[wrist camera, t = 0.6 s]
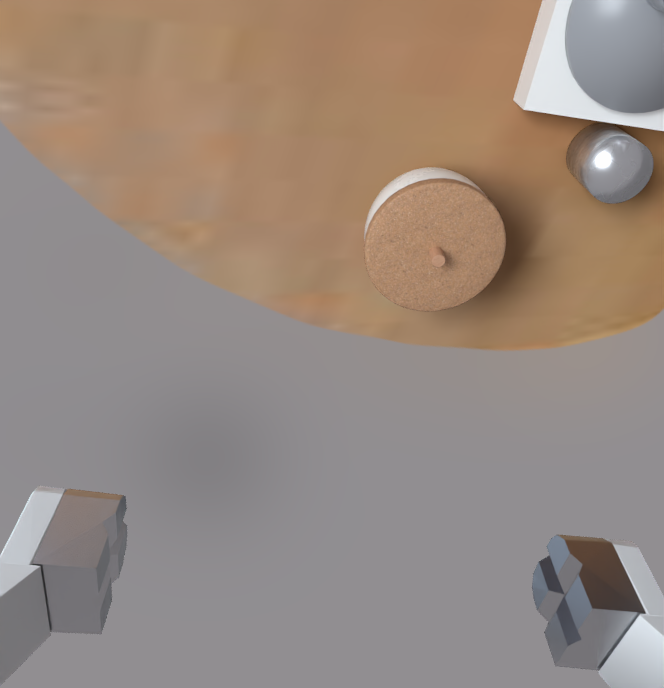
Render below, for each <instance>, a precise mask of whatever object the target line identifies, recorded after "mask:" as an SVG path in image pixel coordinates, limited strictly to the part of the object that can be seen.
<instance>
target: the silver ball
mask: <svg viewBox="0 0 664 688" xmlns="http://www.w3.org/2000/svg"><path fill="white" fill-rule="evenodd" d="M646 1H647V3H648V4H649V5H650V6H651V7H653V8H654V9H656V10H659V11H663V12H664V0H646Z"/></svg>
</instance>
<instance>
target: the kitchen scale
mask: <svg viewBox="0 0 664 688" xmlns="http://www.w3.org/2000/svg"><path fill="white" fill-rule="evenodd" d="M513 100H514V101H515V102H516V103H517V104H518V105H519V106H520V107H521V108H522V109H523V110H529V111H536V112H542V113H549V114H555V115H562V116H568V117H575V118H581V119H588V120H594V121H601V122H607V123H614V124H620V125H627V126H633V127H640V128H646V129H653V130H659V131H664V12H663V11H659V10H656V9H654V8H653V7H651V6H650V5H649V4H648V3H647V1H646V0H542V4H541V7H540V10H539V14H538V17H537V20H536V24H535V27H534V31H533V34H532V37H531V41H530V44H529V48H528V51H527V54H526V58H525V61H524V65H523V68H522V71H521V75H520V78H519V82H518V85H517V88H516V92H515V95H514V99H513Z"/></svg>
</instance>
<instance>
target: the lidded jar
mask: <svg viewBox="0 0 664 688" xmlns="http://www.w3.org/2000/svg"><path fill="white" fill-rule="evenodd" d="M505 248H506V231H505V227H504V223H503V220H502V218H501V215H500V213H499V211H498V210H497V208H496V207H495V205H494V204H493V203H492V201H491V200H490V199H489V198H488V197H487V196H486V195H485V193H484V192H483V191H482V190H481V189H480V188H479V187H478V186H477V185H476V184H475V183H473V182H472V181H471V180H469V179H468V178H466V177H465V176H463V175H461V174H458V173H456V172H454V171H451V170H447V169H444V168H435V167H431V168H421V169H416V170H412V171H409V172H407V173H404V174H402V175H400V176H399V177H397V178H395V179H394V180H393V181H391V182H390V183H389V184H387V185H386V186H385V187H384V188H383V189H382V190H381V192H380V193H379V194H378V196H377V197H376V198H375V200H374V202H373V204H372V206H371V208H370V210H369V213H368V216H367V219H366V225H365V232H364V259H365V264H366V269H367V271H368V274H369V277H370V279H371V280H372V282H373V284H374V285H375V287H376V288H377V289H378V290H379V291H380V293H381V294H383V295H384V296H385V297H386V298H387V299H389V300H390V301H392V302H394V303H395V304H397V305H400V306H402V307H405V308H408V309H412V310H417V311H439V310H445V309H449V308H452V307H455V306H458V305H460V304H462V303H464V302H467V301H468V300H470V299H471V298H473V297H475V296H476V295H477V294H479V293H480V292H481V291H482V290H483V289H484V288H485V287H486V286H487V285H488V284H489V283H490V282H491V281H492V279H493V278H494V276H495V275H496V273H497V272H498V270H499V268H500V266H501V263H502V261H503V257H504V254H505Z"/></svg>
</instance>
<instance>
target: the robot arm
mask: <svg viewBox="0 0 664 688" xmlns="http://www.w3.org/2000/svg"><path fill="white" fill-rule="evenodd" d="M126 509H127V508H126V497H125V496H124V495H117V494H109V493H108V494H107V493H100V492H91V491H83V490H74V489H64V488H55V487H54V488H53V487H45V486H38V487H37V489H35V490H34V491H33V493H32V494H31V496H30V498H29V500H28V502H27V504H26V506H25V508H24V510H23V512H22V514H21V516H20V518H19V520H18V522H17V524H16V526H15V528H14V530H13V532H12V534H11V536H10V538H9V540H8V542H7V544H6V545H5V547H4V549H3V552H2V553H1V555H0V686H1V684H3V682H4V681H5V680H6V679H7V678H8V677H9V676H10V675H11V674H12V673H13V672H14V671H15V670H16V669H17V668H18V667H19V666H20V665H21V664H22V663H23V662H24V661H25V660H26V659H27V658H28V657H29V656H30V655H31V654H32V653H33V652H34V651H35V650H36V649H37V648H38V647H39V646H40V645H41V644H42V643H43V642H44V641H45V640H46V639H47V638H48V637H49V636H50V635H51V633H50V632H63V633H87V634H88V633H89V634H102V630H103V627H104V624H105V621H106V618H107V614H108V611H109V608H110V605H111V602H112V587H111V584H112V583H113V582H114V581H115V580H116V579H117V578H119V575H120V571H121V568H122V565H123V560H124V555H125V550H126V542H127V525H126V524H125V523H124V522H123V518H124V515H125V512H126ZM547 549H548V552H549V556H547V557H546V558H544V559H542V560H541V561H539V562H538V565H537V567H536V569H535V571H534V573H533V583H532V589H533V597H534V601H535V605H536V608H537V610H538V612H539V613H540V614H541V615H542V616H543V617H544V618H545V619H546V620H547V621H548V625H547V627H546V630H545V632H544V633H545V636H546V639H547V642H548V645H549V648H550V651H551V654H552V657H553V660H554V663H555V666H560V667H570V668H580V669H591V670H599V672H598V673H599V675H600V676H601V677H602V678H603V679H604V681H605V682H606V683H607V684H608V686H609V687H610V688H664V596H663V594H662V592H661V590H660V589H659V587H658V585H657V583H656V581H655V579H654V577H653V575H652V573H651V571H650V569H649V568H648V566H647V564H646V562H645V560H644V558H643V556H642V554H641V552H640V550H639V548H638V547H637V546H636V545H635V544H634V543H633V542H632V541H623V540H611V539H603V538H593V537H580V536H566V535H556V536H554V537H553V538H551V540H550V542H549V544H548V545H547Z"/></svg>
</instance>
